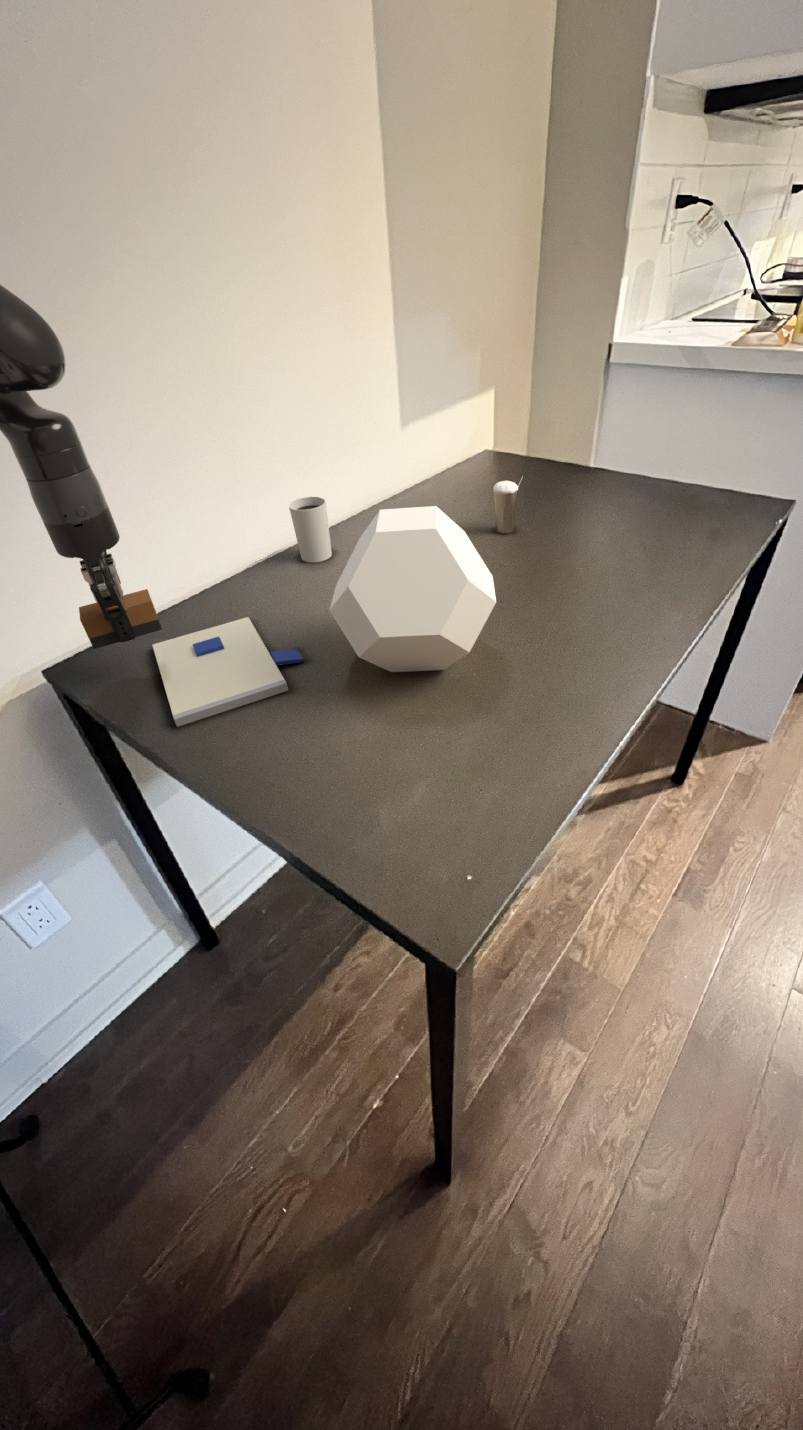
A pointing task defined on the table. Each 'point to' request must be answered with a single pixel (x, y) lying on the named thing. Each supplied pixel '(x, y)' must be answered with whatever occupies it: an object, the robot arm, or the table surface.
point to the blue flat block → (208, 646)
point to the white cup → (311, 528)
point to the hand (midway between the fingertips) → (125, 631)
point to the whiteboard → (217, 672)
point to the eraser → (137, 612)
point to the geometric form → (413, 591)
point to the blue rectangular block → (286, 657)
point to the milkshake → (505, 505)
